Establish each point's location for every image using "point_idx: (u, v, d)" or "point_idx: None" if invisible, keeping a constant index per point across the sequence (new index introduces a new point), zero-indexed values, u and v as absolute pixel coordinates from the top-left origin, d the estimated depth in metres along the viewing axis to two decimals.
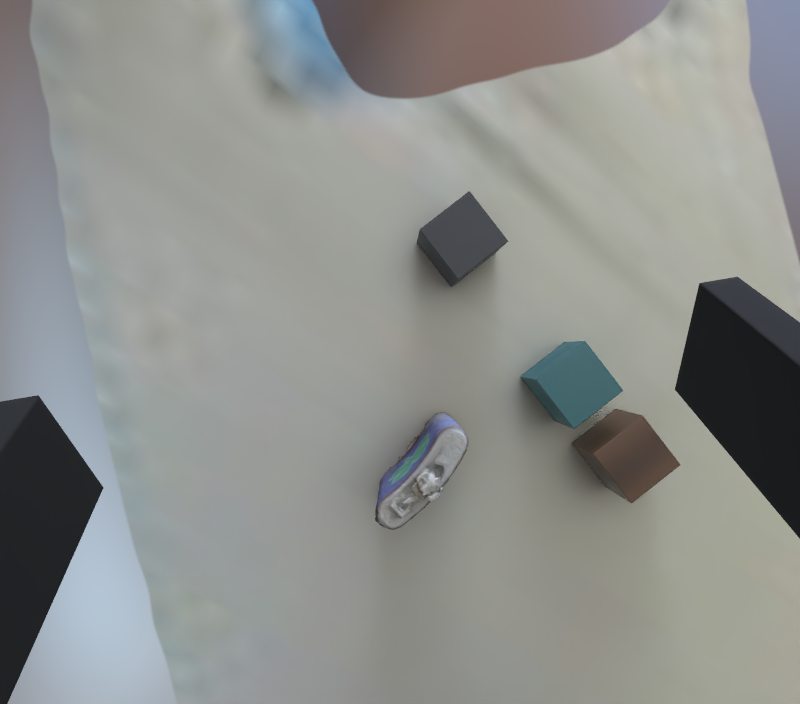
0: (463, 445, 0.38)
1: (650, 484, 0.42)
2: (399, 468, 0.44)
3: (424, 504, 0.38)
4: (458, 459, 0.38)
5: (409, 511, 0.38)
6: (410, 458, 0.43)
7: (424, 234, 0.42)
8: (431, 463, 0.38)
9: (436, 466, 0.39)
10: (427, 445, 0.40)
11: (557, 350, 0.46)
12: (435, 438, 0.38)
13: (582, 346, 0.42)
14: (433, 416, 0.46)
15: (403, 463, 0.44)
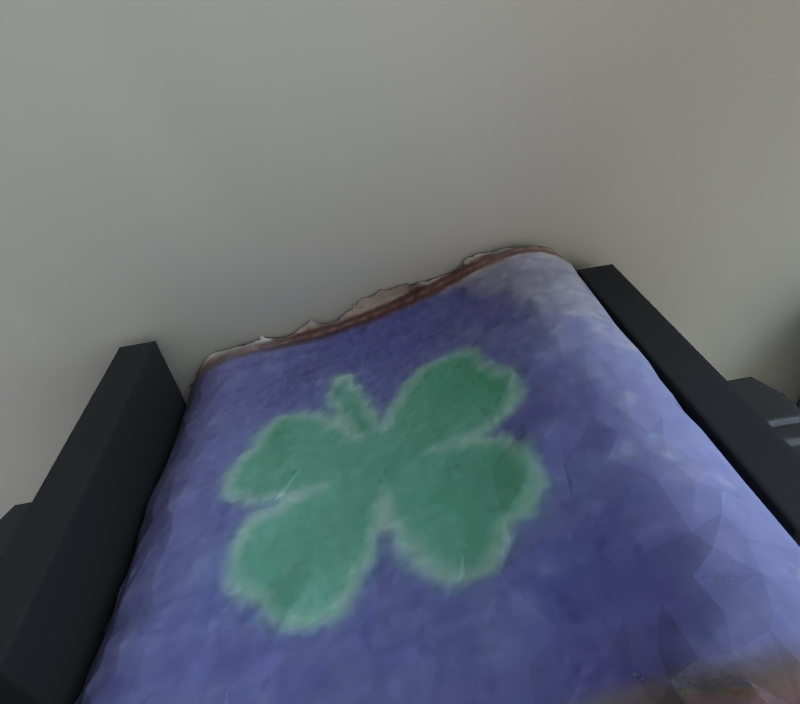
0: None
1: None
2: (296, 422, 0.09)
3: None
4: None
5: None
6: (365, 418, 0.09)
7: None
8: None
9: None
10: (540, 550, 0.06)
11: None
12: (713, 695, 0.04)
13: None
14: (523, 254, 0.11)
15: (322, 401, 0.10)
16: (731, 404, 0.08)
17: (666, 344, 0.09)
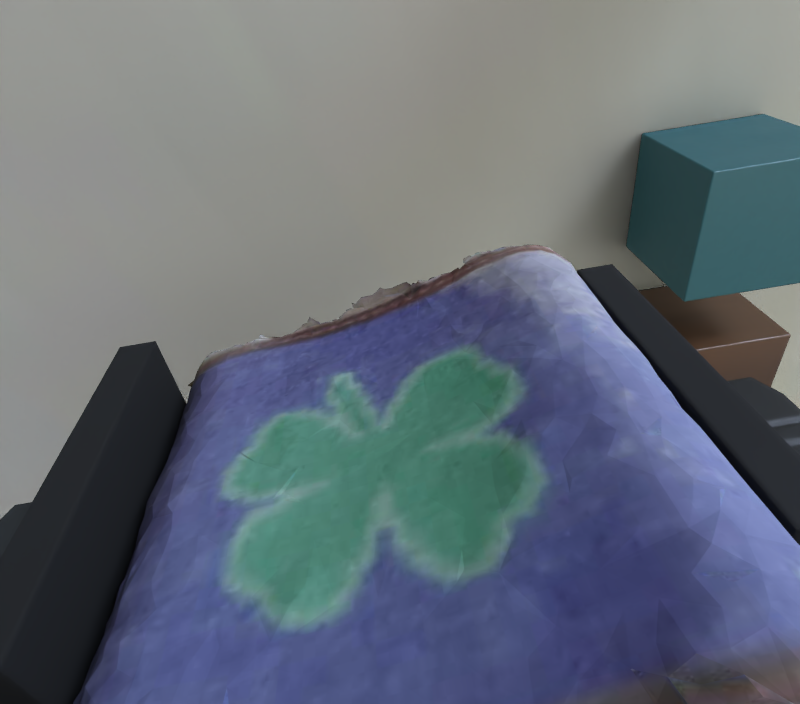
0: None
1: None
2: (296, 420, 0.09)
3: None
4: None
5: None
6: (365, 417, 0.09)
7: None
8: None
9: None
10: (539, 547, 0.06)
11: (750, 124, 0.20)
12: (711, 690, 0.04)
13: None
14: (522, 253, 0.11)
15: (321, 399, 0.10)
16: (731, 404, 0.08)
17: (666, 344, 0.09)
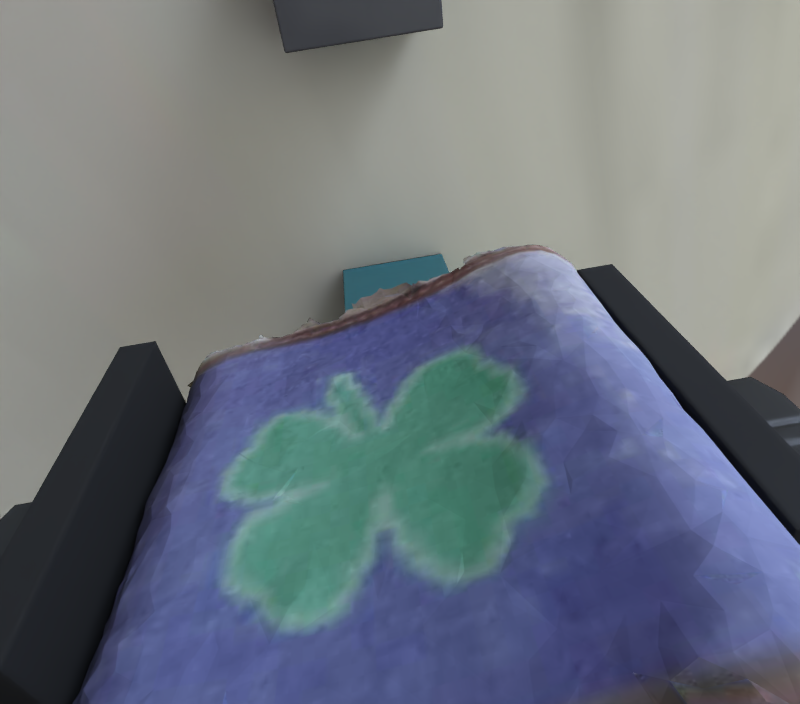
0: None
1: None
2: (295, 421, 0.09)
3: None
4: None
5: None
6: (365, 417, 0.09)
7: None
8: None
9: None
10: (540, 548, 0.06)
11: (420, 266, 0.25)
12: (714, 694, 0.04)
13: None
14: (522, 253, 0.11)
15: (321, 400, 0.10)
16: (731, 404, 0.08)
17: (666, 344, 0.09)
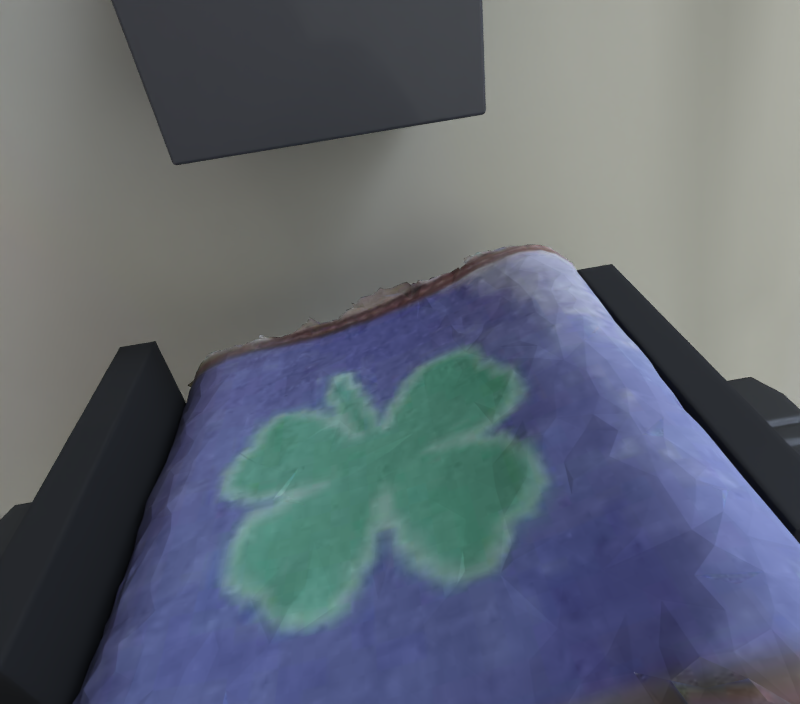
0: None
1: None
2: (295, 420, 0.09)
3: None
4: None
5: None
6: (365, 417, 0.09)
7: None
8: None
9: None
10: (540, 548, 0.06)
11: None
12: (714, 694, 0.04)
13: None
14: (523, 253, 0.11)
15: (321, 399, 0.10)
16: (731, 404, 0.08)
17: (666, 344, 0.09)
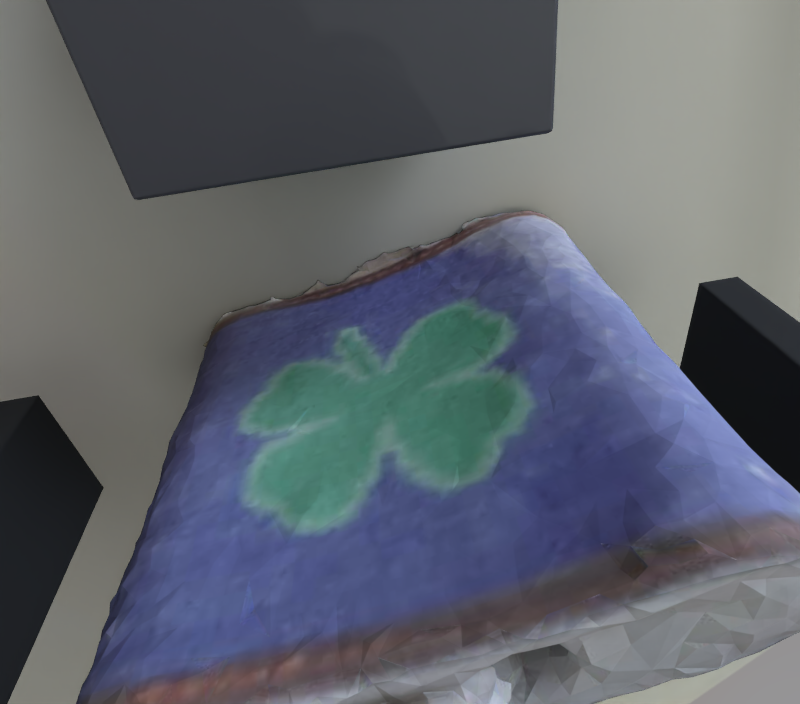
0: (771, 640, 0.06)
1: None
2: (306, 368, 0.10)
3: None
4: None
5: None
6: (370, 363, 0.10)
7: None
8: None
9: None
10: (525, 457, 0.07)
11: None
12: (666, 552, 0.05)
13: None
14: (517, 217, 0.11)
15: (329, 350, 0.11)
16: None
17: None
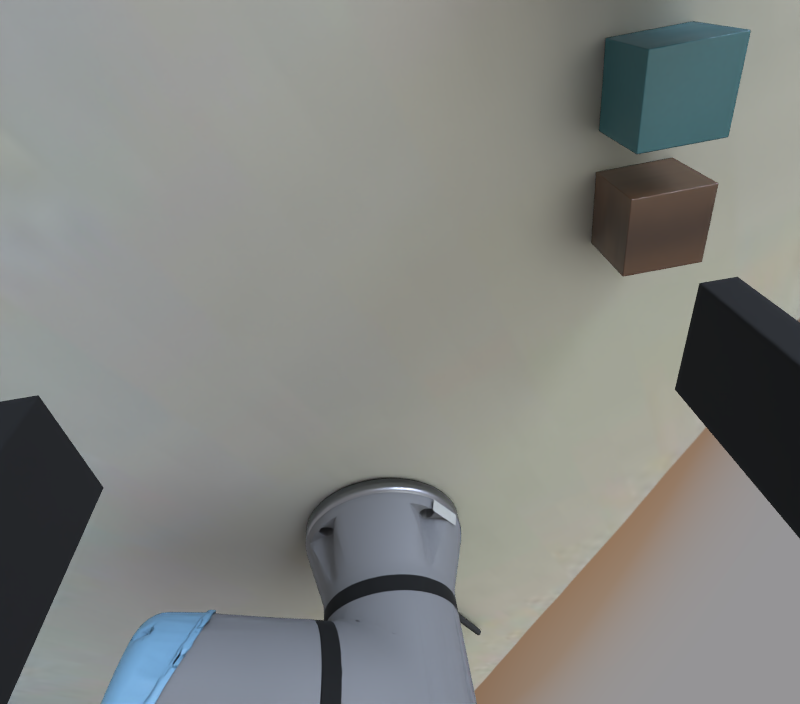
0: None
1: (656, 266, 0.33)
2: None
3: None
4: None
5: None
6: None
7: None
8: None
9: None
10: None
11: (682, 27, 0.28)
12: None
13: (741, 36, 0.25)
14: None
15: None
16: None
17: None
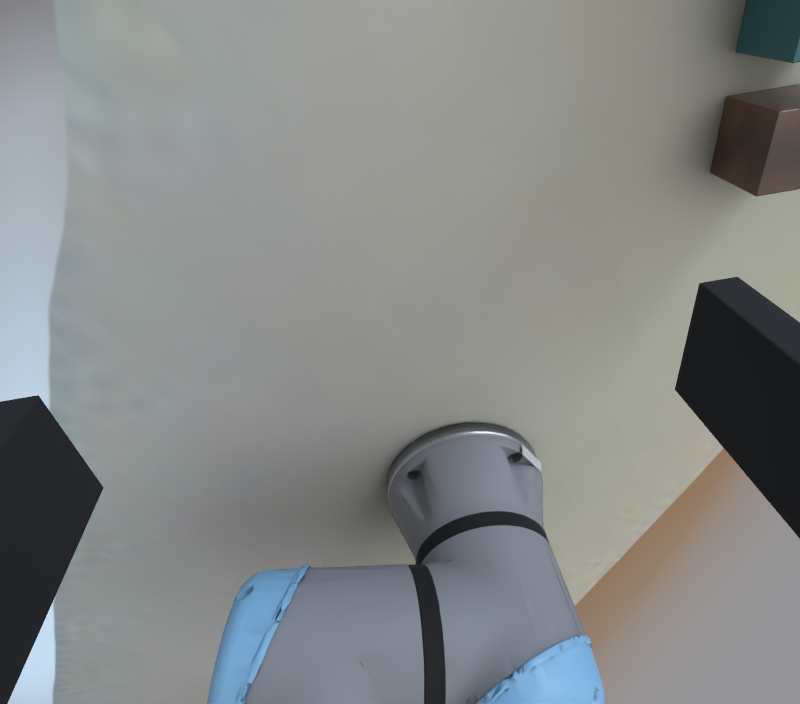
0: None
1: (790, 186, 0.33)
2: None
3: None
4: None
5: None
6: None
7: None
8: None
9: None
10: None
11: None
12: None
13: None
14: None
15: None
16: None
17: None
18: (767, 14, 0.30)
